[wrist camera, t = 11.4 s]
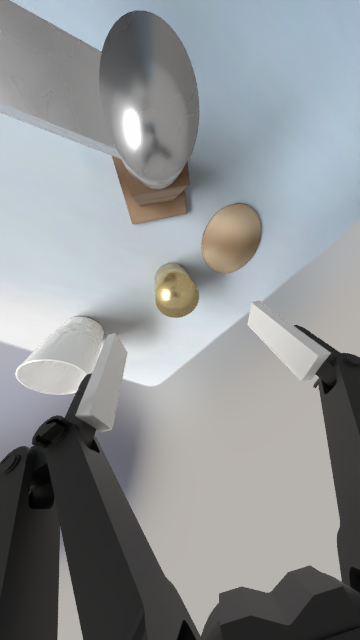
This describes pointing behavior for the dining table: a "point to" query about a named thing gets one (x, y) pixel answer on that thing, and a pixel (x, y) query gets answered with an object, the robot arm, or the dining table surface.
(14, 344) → the dining table surface
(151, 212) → the post
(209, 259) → the coaster
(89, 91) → the lever
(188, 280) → the brass cylinder
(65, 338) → the white cup
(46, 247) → the dining table surface
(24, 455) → the robot arm
